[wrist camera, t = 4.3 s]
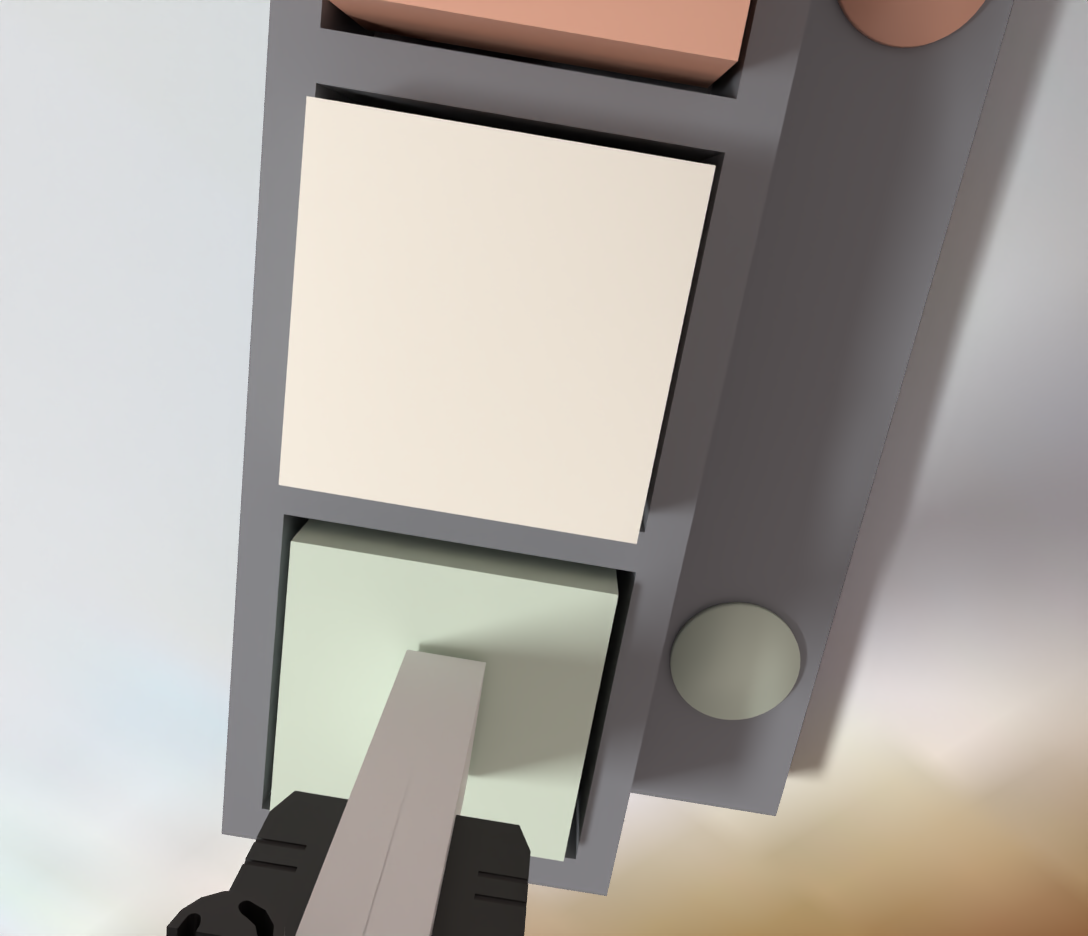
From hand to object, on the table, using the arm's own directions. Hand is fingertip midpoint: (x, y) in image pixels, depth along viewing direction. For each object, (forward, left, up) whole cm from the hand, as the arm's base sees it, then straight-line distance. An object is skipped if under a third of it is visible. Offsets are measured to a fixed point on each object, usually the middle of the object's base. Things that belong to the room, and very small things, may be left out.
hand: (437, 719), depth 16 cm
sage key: (0, 0, -3) cm, 3 cm away
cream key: (0, +7, -2) cm, 8 cm away
